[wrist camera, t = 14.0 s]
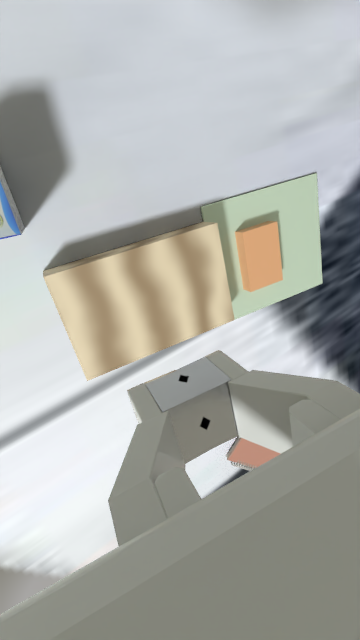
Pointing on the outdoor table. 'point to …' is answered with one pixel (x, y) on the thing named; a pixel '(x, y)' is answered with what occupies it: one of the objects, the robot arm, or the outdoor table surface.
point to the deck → (142, 297)
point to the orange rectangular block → (259, 255)
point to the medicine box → (8, 212)
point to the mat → (294, 237)
